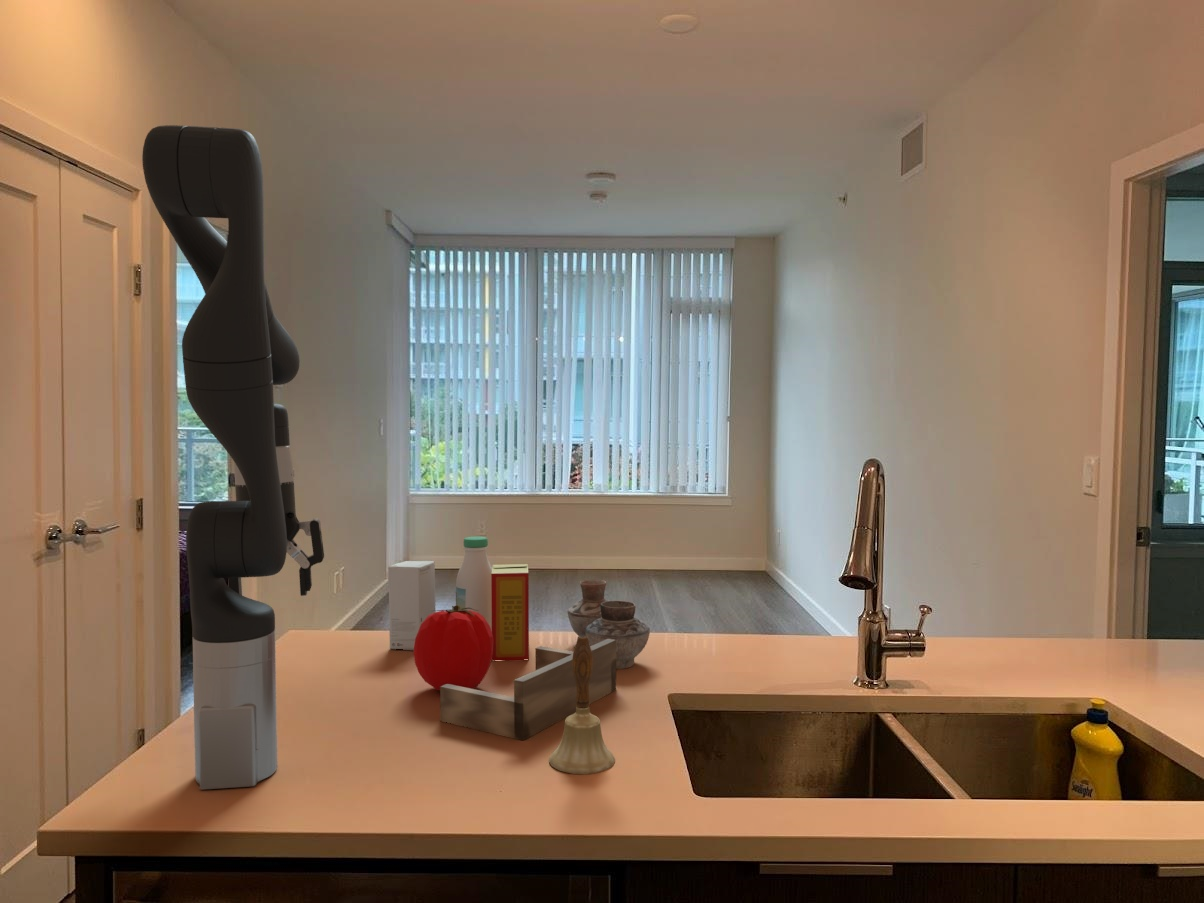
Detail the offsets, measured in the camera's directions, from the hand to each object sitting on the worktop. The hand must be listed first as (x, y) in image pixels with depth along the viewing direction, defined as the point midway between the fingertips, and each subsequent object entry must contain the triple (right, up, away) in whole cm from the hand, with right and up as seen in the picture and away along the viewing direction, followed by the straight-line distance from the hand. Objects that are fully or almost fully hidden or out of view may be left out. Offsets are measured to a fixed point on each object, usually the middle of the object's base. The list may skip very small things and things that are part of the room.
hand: (271, 597), depth 120 cm
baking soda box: (+29, -17, +39) cm, 52 cm away
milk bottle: (+21, -17, +48) cm, 55 cm away
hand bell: (+43, -19, -10) cm, 48 cm away
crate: (+35, -18, +12) cm, 41 cm away
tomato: (+22, -18, +19) cm, 34 cm away
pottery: (+46, -17, +39) cm, 63 cm away
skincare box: (+10, -17, +45) cm, 49 cm away
